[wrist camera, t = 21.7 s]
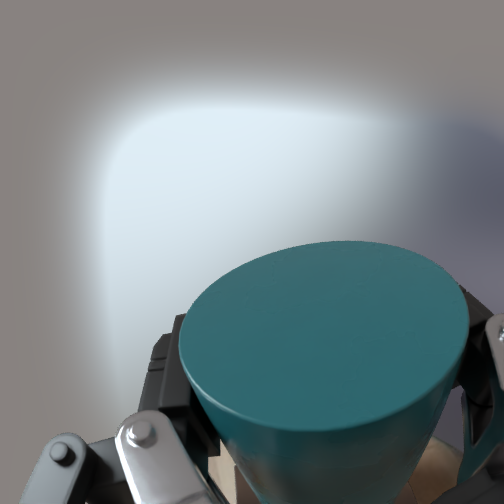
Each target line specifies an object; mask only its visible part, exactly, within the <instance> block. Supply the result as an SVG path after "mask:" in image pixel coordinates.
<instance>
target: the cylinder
mask: <svg viewBox="0 0 504 504" xmlns="http://www.w3.org/2000/svg"><path fill="white" fill-rule="evenodd" d="M469 323H470V319H469V311H468V306H467V302H466V299H465V296H464V294H463V292H462V290H461V289H460V287H459V285H458V284H457V282H456V281H455V280H454V279H453V278H452V276H451V275H450V274H449V273H447V272H446V271H445V270H444V269H443V268H442V267H440V266H439V265H438V264H436V263H435V262H433V261H432V260H430V259H428V258H426V257H424V256H422V255H420V254H417V253H415V252H412V251H410V250H407V249H404V248H400V247H396V246H392V245H388V244H382V243H375V242H364V241H331V242H320V243H313V244H306V245H301V246H296V247H292V248H288V249H284V250H280V251H277V252H273V253H270V254H267V255H264V256H262V257H259V258H256V259H254V260H252V261H250V262H248V263H245V264H243V265H241V266H239V267H237V268H235V269H234V270H232V271H230V272H229V273H227V274H225V275H224V276H222V277H221V278H219V279H218V280H217V281H215V282H214V283H213V284H211V285H210V286H209V287H208V288H207V289H206V290H205V291H204V292H203V293H202V294H201V295H200V296H199V297H198V298H197V299H196V300H195V301H194V303H193V304H192V306H191V307H190V309H189V310H188V312H187V314H186V316H185V318H184V320H183V322H182V326H181V329H180V333H179V345H178V347H179V355H180V360H181V363H182V366H183V369H184V372H185V374H186V376H187V378H188V380H189V382H190V384H191V386H192V388H193V389H194V391H195V393H196V395H197V397H198V399H199V401H200V403H201V405H202V407H203V409H204V410H205V412H206V414H207V416H208V418H209V420H210V421H211V423H212V425H213V427H214V428H215V430H216V432H217V434H218V435H219V437H220V439H221V441H222V442H223V444H224V446H225V447H226V449H227V451H228V452H229V454H230V456H231V457H232V459H233V461H234V462H235V464H236V465H237V467H238V469H239V470H240V472H241V473H242V475H243V476H244V478H245V480H246V481H247V483H248V484H249V486H250V487H251V489H252V490H253V492H254V493H255V495H256V496H257V498H258V499H259V501H260V502H261V503H262V504H394V502H395V501H396V499H397V498H398V496H399V495H400V493H401V491H402V490H403V488H404V486H405V485H406V483H407V481H408V480H409V478H410V476H411V474H412V473H413V471H414V469H415V467H416V466H417V464H418V462H419V460H420V458H421V456H422V454H423V452H424V450H425V448H426V446H427V444H428V442H429V440H430V438H431V436H432V434H433V432H434V430H435V427H436V425H437V423H438V420H439V418H440V416H441V413H442V411H443V409H444V406H445V404H446V401H447V399H448V396H449V394H450V391H451V388H452V386H453V383H454V380H455V377H456V374H457V371H458V368H459V365H460V362H461V359H462V356H463V352H464V349H465V346H466V342H467V338H468V334H469Z"/></svg>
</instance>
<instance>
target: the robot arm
mask: <svg viewBox="0 0 504 504" xmlns="http://www.w3.org/2000/svg"><path fill="white" fill-rule="evenodd" d="M457 284H458V283H457ZM459 287H460V289H461V290H462V292H463V294H464V296H465V299H466V302H467V306H468V311H469V319H470V323H469V334H468V338H467V342H466V346H465V349H464V352H463V356H462V359H461V362H460V365H459V368H458V371H457V374H456V377H455V380H454V383H453V386H452V388H451V389H453V388H455V387H457V386H459V385H461V386H462V388H463V389H464V391H463V393H462V397H461V404H462V416H463V433H464V455H463V459H462V462H461V465H460V468H459V472H458V478H457V486H455V487H453V488H451V489H449V490H448V491H446V492H444V493H443V494H442V495H441V496H439V497H438V498H437V499H436V500H435V501H433V502H432V503H431V504H504V313H501V314H496V315H494V314H493V313H492V312H491V311H490V310H488V309H487V308H486V307H485V306H484V305H483V304H482V303H481V302H479V301H478V300H477V299H476V298H475V297H474V296H472V295H471V294H470V293H469V292H466V289H464V288H463V287H462V286H461V285H459ZM186 314H187V313H186ZM186 314H181V315H177V316H176V318H175V321H174V326H173V330H172V333H168V334H163V335H162V336H161V338H160V339H159V340H158V342H157V343H156V344H155V346H154V348H153V351H152V355H151V362H150V363H149V367H148V372H147V375H146V379H145V383H144V387H143V391H142V395H141V399H140V404H139V408H138V412H137V413H135V414H133V415H131V416H129V417H128V418H126V419H125V420H124V421H123V422H122V423H121V424H120V426H119V428H118V429H117V432H116V435H115V436H114V437H112V438H108V439H105V440H101V441H98V442H94V443H91V444H86V442H85V441H84V440H83V439H82V438H81V437H79V436H78V435H76V434H73V433H63V434H60V435H57V436H55V437H54V438H52V440H50V441H49V442H48V443H47V445H46V446H45V448H44V450H43V452H42V454H41V456H40V458H39V460H38V462H37V464H36V466H35V468H34V470H33V473H32V474H31V476H30V479H29V481H28V483H27V485H26V488H25V490H24V492H23V494H22V497H21V499H20V501H19V503H18V504H85V502H87V503H88V504H230V503H229V502H228V500H227V499H226V498H225V496H224V495H223V493H222V492H221V490H220V489H219V487H218V485H217V484H216V482H215V481H214V479H213V478H212V476H211V474H210V473H209V472H208V457H213V456H220V437H219V435H218V434H217V432H216V430H215V428H214V427H213V425H212V423H211V421H210V420H209V418H208V416H207V414H206V412H205V410H204V409H203V407H202V405H201V403H200V401H199V399H198V397H197V395H196V393H195V391H194V389H193V388H192V386H191V384H190V382H189V380H188V378H187V376H186V374H185V372H184V369H183V366H182V363H181V360H180V355H179V347H178V345H179V333H180V329H181V326H182V322H183V320H184V318H185V316H186Z"/></svg>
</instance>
